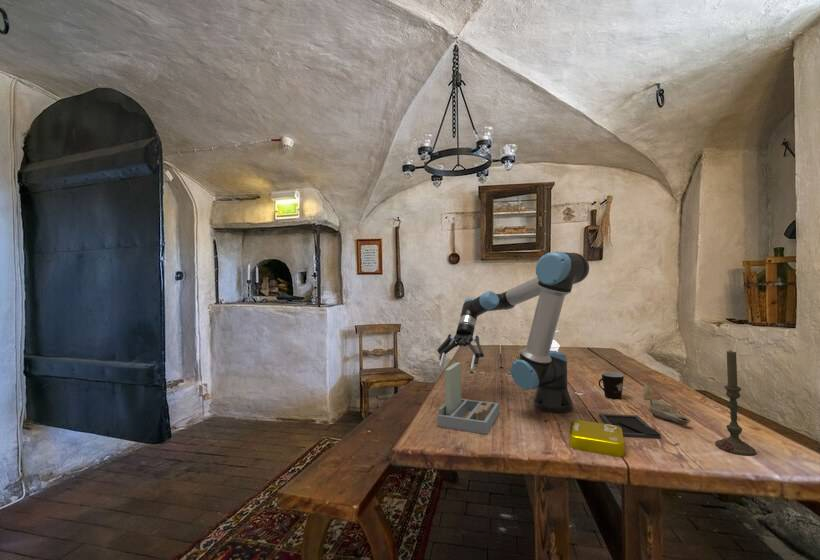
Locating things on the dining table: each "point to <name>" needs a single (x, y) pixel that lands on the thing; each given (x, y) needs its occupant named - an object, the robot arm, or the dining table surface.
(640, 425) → the picture frame
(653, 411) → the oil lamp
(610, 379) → the coffee mug
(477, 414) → the pine offcut stack
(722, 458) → the dining table surface
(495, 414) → the offcut rack
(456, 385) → the sage hardboard sheet
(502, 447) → the dining table surface
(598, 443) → the element tile
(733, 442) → the candlestick holder
